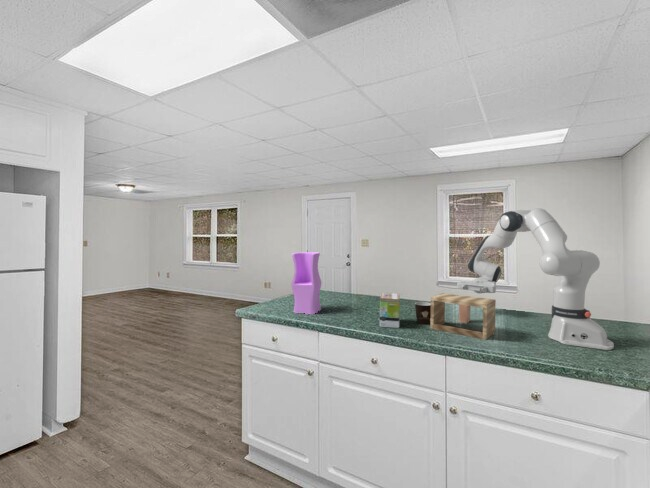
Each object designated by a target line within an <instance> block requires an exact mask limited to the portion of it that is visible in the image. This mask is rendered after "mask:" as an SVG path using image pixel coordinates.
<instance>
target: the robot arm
mask: <svg viewBox="0 0 650 488" xmlns="http://www.w3.org/2000/svg"><path fill="white" fill-rule="evenodd" d="M518 232H520V233H521V232H522V233H526V232H527V233H528V232H531V234H532V235H533V237H534V239H536V241H537V244H538V245H539V247H540V249H541V252H542V255H541V257H540V259H539V267H540V269H541V271H542V272H543V273H544V274H546V275H550V276H555V277H561V279H560V281H559V283H558V284H557V285H555V286H554V288H553V291H552V292H553V294H552V295H553V298H552V306H551V313H550V315H551V318H552V319H551V322H550V323H551V325H550V329H549V331H548V335H547V337H548V338H549V339H552V340H554V341H556V342H559V343H561V344H562V345H568V346H575V347H583V348H590V349H597V350H605V351H610V350H613V349H615V344H614V342H613V341H611V340H610V339H608V334H607V333H606V330H605V329H604V327H602V326H601V325H600V324H598V323H597V322H595V321H594V320H593V319H591V316H592V312H591V311H590V310H588V309H586V308H585V299H586V290H587V287H588V283H589V282H590V279H591V278H592V276H593V275H594V273H596V272H597V271H598V270H599V268H600V263H601V262H600V261H601V260H600V258H599V257H598V256H597V255H596V254H595V253H593V252H591V251H588V250H587V251H586V250H582V249H581V250H579V249H578V250H576V249H575V250H570V249H569V248H568V247H567V246H566V242H567V240H568V235H567V233H566V232H565V230H564V229H563V227H561V225H560V224H559V222H557V220H556V219H555V218H554V216H552V215H551V214H550V213H549V212H548V211H547V210H546V209H543V208H535V209H532V210H531V209H530V210H529V209H528V210H526V209H522V210H521V209H520V210H511V211H505V212H504V213H502V214H501V215H500V218H499V219H498V221H497V223H496V224H495V227H494V229H493V232H492V233H491V234H490V235H486V236H485V237H484V238H483V240H482V241H481V242H480V244H479V245H478V248H477V249H476V251H475V252H474V253H473V255H472V257H471V258H470V259H469V261H468V263H467V267H468V268H467V269H468V270H469V271H470V272H471V273H474V274H477V275H479V276H480V277H478V278H473V280H472V281H471V282H470V281H459V282H457V284H456V286H457V287H456V288H457V289H459V290H465V291H466V290H467V291H472V292H474V293H477V294H496V292H497V282H498V281H499V279H500V278H501V276H502V268H501V266H499V265H498V264H496V263H493V262H490V261H489V260H487V259H484V258H483V255H484V254H485V252H486V251H487V249H507V248H508V247H511V246H512V245H513V243H514V241H515V238H516V236H517V234H518Z"/></svg>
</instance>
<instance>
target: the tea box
mask: <svg viewBox="0 0 650 488" xmlns="http://www.w3.org/2000/svg"><path fill="white" fill-rule="evenodd" d="M400 296H401V295H400V293H390V292H389V293H388V292H381V293H380V299H379V327H380V328H393V329H399V328H400V313H401V305H400V304H401V299H400Z"/></svg>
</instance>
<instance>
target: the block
mask: <svg viewBox="0 0 650 488" xmlns="http://www.w3.org/2000/svg"><path fill="white" fill-rule="evenodd" d="M469 321H470V322H471V306H468V305H461V304H458V322H459V323H464V324H468V323H469Z"/></svg>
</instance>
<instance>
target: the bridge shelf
mask: <svg viewBox="0 0 650 488" xmlns="http://www.w3.org/2000/svg"><path fill="white" fill-rule="evenodd" d="M430 303H431V318H430V329H431V330H435V331H440V332H445V333H450V334H454V335H455V334H456V335H461V336H465V337H470V338H476V339H481V340H488V339H489V338H491V336H492V334H493V333H494V334H495V333H496V304H497V303H496V299H492V298H485V297H476V296H468V295H461V294H460V295H459V294H453V293H451V294H450V293H445V292H444V293H443V292H441V293H438V294H436V295H433V296H430ZM446 303H448V304H454V305H459V304H461V305H468V306H470V307H476V308H482V332H481V331H477V330H471V329H467V328H460V327H456V326H450V325H444V324H445V321H446V320H445V317H446V316H445V315H446V314H445V312H446V305H445V304H446ZM494 334H493V335H494Z"/></svg>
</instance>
